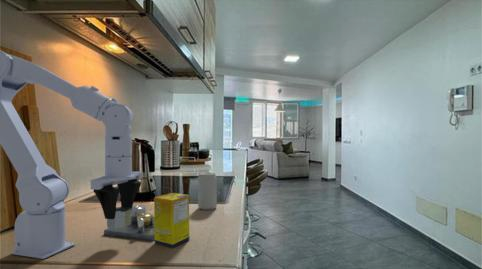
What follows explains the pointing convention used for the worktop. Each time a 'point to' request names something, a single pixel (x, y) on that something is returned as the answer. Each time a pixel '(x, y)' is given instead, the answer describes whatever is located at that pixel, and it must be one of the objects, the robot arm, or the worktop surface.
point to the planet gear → (120, 218)
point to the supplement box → (171, 219)
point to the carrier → (136, 225)
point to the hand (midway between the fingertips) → (118, 215)
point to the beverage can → (207, 191)
